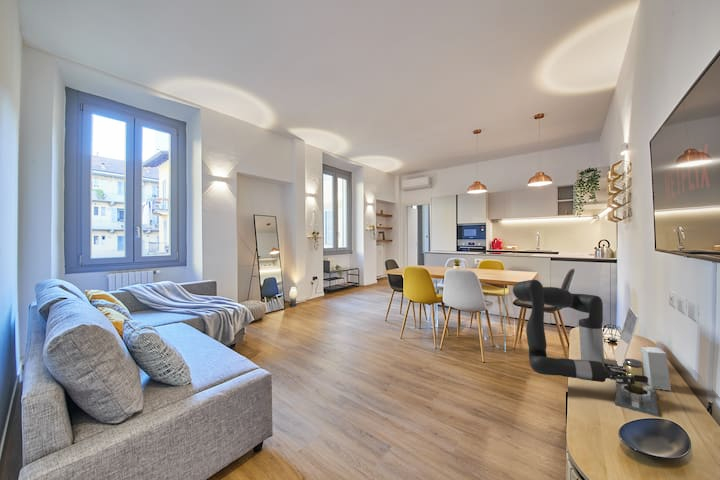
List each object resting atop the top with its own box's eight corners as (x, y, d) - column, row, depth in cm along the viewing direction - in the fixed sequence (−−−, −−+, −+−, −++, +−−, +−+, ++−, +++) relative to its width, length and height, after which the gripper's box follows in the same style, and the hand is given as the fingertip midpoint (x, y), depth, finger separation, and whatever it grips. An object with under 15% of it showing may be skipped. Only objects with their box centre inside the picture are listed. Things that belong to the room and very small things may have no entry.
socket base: (617, 385, 119) (617, 376, 119) (655, 393, 111) (655, 384, 111) (615, 405, 105) (614, 395, 105) (658, 416, 97) (657, 406, 97)
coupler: (627, 388, 111) (625, 357, 112) (643, 392, 108) (641, 360, 108) (627, 393, 108) (624, 361, 108) (644, 397, 105) (641, 364, 105)
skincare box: (671, 391, 112) (668, 353, 113) (650, 388, 115) (647, 351, 116) (662, 382, 119) (659, 347, 120) (642, 380, 122) (640, 345, 123)
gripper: (593, 367, 108) (653, 374, 101) (581, 354, 121) (634, 359, 114) (594, 387, 107) (654, 396, 100) (583, 372, 121) (635, 378, 113)
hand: (643, 376), depth 107 cm, fingers closed on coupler, 4 cm apart
